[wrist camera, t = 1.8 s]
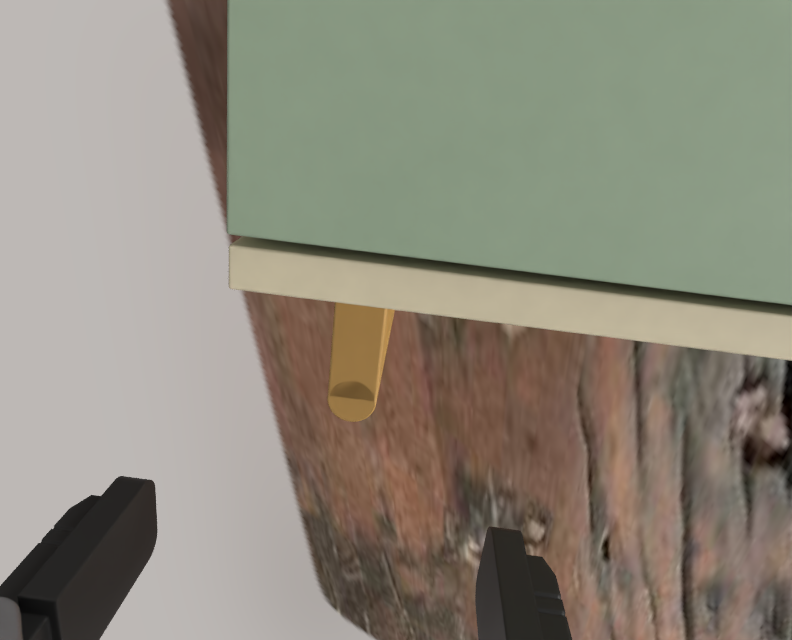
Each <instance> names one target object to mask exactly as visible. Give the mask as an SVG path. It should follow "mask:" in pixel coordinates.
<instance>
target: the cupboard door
mask: <svg viewBox="0 0 792 640" xmlns="http://www.w3.org/2000/svg"><path fill="white" fill-rule="evenodd" d="M229 288H230V289H236V290H244V291H252V292H259V293H267V294H275V295H283V296H291V297H298V298H306V299H314V300H322V301H330V302H335V307H334V320H333V333H332V346H331V359H330V372H329V385H328V397H327V400H328V405H329V407H330V409H331V411H332V412H333V413H334V414H335V415H336V416H337V417H339V418H340V419H343V420H345V421H350V422H356V421H361V420H364V419H365V418H367V417H369V416H370V415H371V414H372V412H373V411H374V409H375V406H376V402H377V396H378V391H379V386H380V381H381V376H382V371H383V366H384V361H385V356H386V351H387V346H388V341H389V336H390V331H391V326H392V321H393V316H394V311H395V310H400V311H408V312H416V313H424V314H431V315H439V316H447V317H455V318H463V319H470V320H478V321H486V322H494V323H502V324H510V325H517V326H525V327H533V328H541V329H549V330H556V331H564V332H572V333H580V334H588V335H596V336H603V337H611V338H619V339H627V340H635V341H642V342H650V343H658V344H666V345H674V346H682V347H689V348H697V349H705V350H713V351H721V352H728V353H736V354H744V355H752V356H760V357H767V358H775V359H783V360H791V361H792V305H786V304H778V303H770V302H762V301H754V300H746V299H738V298H731V297H723V296H715V295H707V294H699V293H691V292H683V291H675V290H667V289H659V288H651V287H643V286H635V285H627V284H619V283H611V282H603V281H595V280H588V279H580V278H572V277H564V276H556V275H548V274H540V273H532V272H524V271H516V270H508V269H500V268H492V267H484V266H476V265H468V264H460V263H452V262H445V261H437V260H429V259H421V258H413V257H405V256H397V255H389V254H381V253H373V252H365V251H357V250H349V249H341V248H333V247H325V246H317V245H309V244H302V243H294V242H286V241H278V240H270V239H262V238H254V237H246V236H242V237H241V238H239V239H238V240H237V241H235V242H234V243H232V244H231V245H230V246H229Z"/></svg>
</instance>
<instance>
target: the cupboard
mask: <svg viewBox="0 0 792 640" xmlns="http://www.w3.org/2000/svg"><path fill="white" fill-rule="evenodd" d="M227 233H228V234H230V235H238V236H246V237H254V238H262V239H270V240H278V241H286V242H294V243H302V244H309V245H317V246H325V247H333V248H341V249H349V250H357V251H365V252H373V253H381V254H389V255H397V256H405V257H413V258H421V259H429V260H437V261H445V262H452V263H460V264H468V265H476V266H484V267H492V268H500V269H508V270H516V271H524V272H532V273H540V274H548V275H556V276H564V277H572V278H580V279H588V280H595V281H603V282H611V283H619V284H627V285H635V286H643V287H651V288H659V289H667V290H675V291H683V292H691V293H699V294H707V295H715V296H723V297H731V298H738V299H746V300H754V301H762V302H770V303H778V304H786V305H792V0H227Z"/></svg>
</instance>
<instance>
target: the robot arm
mask: <svg viewBox="0 0 792 640" xmlns="http://www.w3.org/2000/svg"><path fill="white" fill-rule="evenodd" d="M156 538H157V514H156V494H155V484H154V482H153V481H152V480H147V479H139V478H131V477H124V476H120V477H118V478H116V479H115V481H114V482H113V483H112V484H111V485H110V487H109V488H108V489H107V490H106V491H105V492H104V494H103V495H102V496H94V495H91V496H89V497H88V498H86V499H84V500H83V501H81V502H80V503H78V504H76V505H75V506H73V507H71V508H70V509H69V510H68V511H67V512H66V513H65V515H63V517H62V518H61V519H60V520H59V521H58V522H57V523H56V524H55V526H54V529H51V530H50V531H49V532H48V533H47V534H46V536H45V537H44V538H43V539H42V542H41V543H38V545H37V546H36V547H35V548H34V549H33V550H32V551H31V552H30V553H29V554H28V556H27V557H26V558H25V559H24V560H23V561H22V562H21V563H20V565H19V566H18V567H17V568H16V569H15V570H14V571H13V572H12V573H11V575H10V576H9V577H8V578H7V579H6V580H5V581H4V582H3V584H2V585H1V586H0V640H99V639H100V637H101V636H102V634H103V633H104V631H105V629H106V628H107V626H108V625H109V623H110V621H111V620H112V618H113V617H114V615H115V614H116V612H117V610H118V609H119V607H120V605H121V604H122V602H123V601H124V599H125V597H126V596H127V594H128V592H129V591H130V589H131V588H132V586H133V585H134V583H135V581H136V580H137V578H138V576H139V575H140V573H141V572H142V570H143V569H144V567H145V565H146V564H147V562H148V560H149V559H150V557H151V555H152V552H153V550H154V547H155V543H156ZM476 614H477V626H478V638H479V640H572V637H571V633H570V629H569V626H568V622H567V618H566V617H565V610H564V606H563V602H562V600H561V594H560V591H559V587H558V583H557V579H556V575H555V574H554V573H553V571H552V570H551V568H550V567H549V566H548V564H547V563H546V562H545V560H544V559H543V557H539V556H531V555H526V551H525V546H524V541H523V536H522V533H521V531H519V530H512V529H504V528H497V527H489V528H488V530H487V533H486V538H485V543H484V547H483V552H482V556H481V561H480V566H479V570H478V575H477V582H476Z"/></svg>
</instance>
